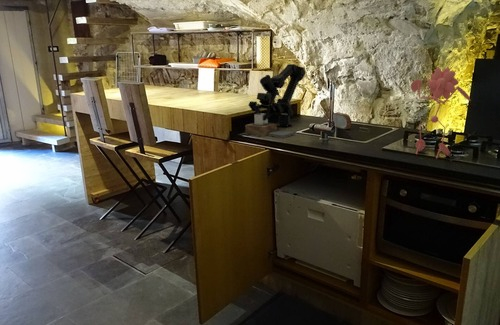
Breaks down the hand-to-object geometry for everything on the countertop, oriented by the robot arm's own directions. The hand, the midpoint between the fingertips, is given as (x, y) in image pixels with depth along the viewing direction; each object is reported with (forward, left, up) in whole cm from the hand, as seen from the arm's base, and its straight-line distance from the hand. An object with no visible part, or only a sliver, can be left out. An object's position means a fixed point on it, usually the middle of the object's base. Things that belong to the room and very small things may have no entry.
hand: (259, 119), depth 215 cm
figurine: (-9, +87, -8) cm, 88 cm away
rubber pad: (-3, +12, -8) cm, 15 cm away
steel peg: (-1, 0, -5) cm, 5 cm away
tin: (-38, +27, -8) cm, 47 cm away
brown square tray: (-1, 0, -8) cm, 8 cm away
